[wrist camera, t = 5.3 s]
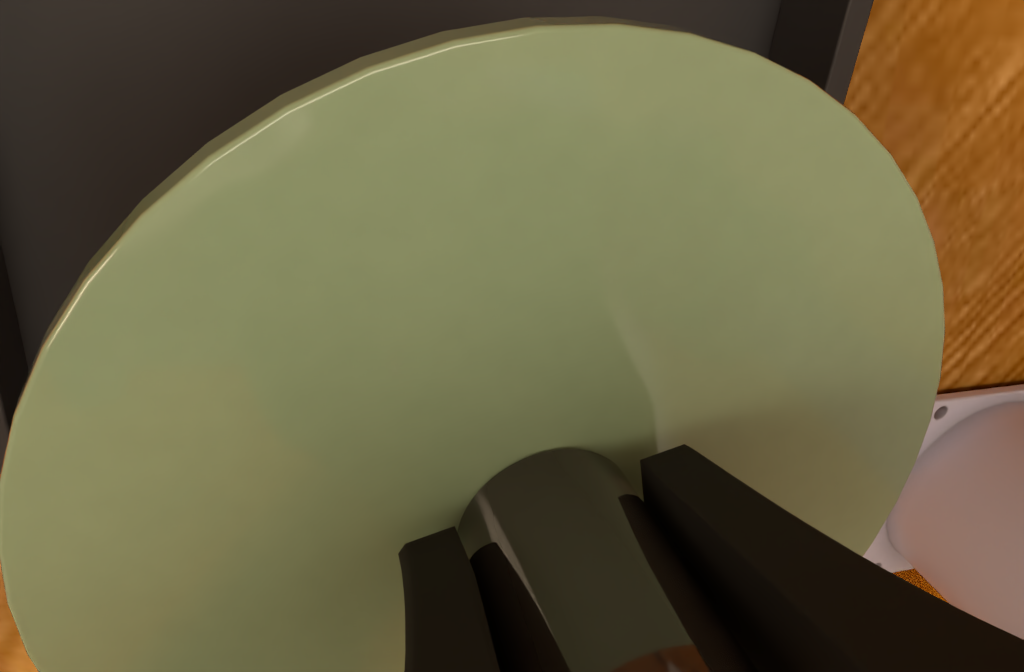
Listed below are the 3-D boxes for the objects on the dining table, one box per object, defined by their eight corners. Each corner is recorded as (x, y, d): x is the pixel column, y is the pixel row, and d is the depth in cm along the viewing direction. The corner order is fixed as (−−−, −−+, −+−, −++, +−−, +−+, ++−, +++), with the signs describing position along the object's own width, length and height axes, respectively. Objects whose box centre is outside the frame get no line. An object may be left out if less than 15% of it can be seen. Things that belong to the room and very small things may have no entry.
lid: (1014, 30, 11) (1480, 138, 7) (776, 673, 16) (952, 925, 13) (-122, -35, 7) (-546, 132, 3) (99, 836, 13) (58, 1272, 9)
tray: (857, -290, 16) (964, -310, 14) (692, 394, 24) (744, 452, 22) (-202, -510, 11) (-308, -603, 9) (26, 466, 19) (3, 553, 16)
